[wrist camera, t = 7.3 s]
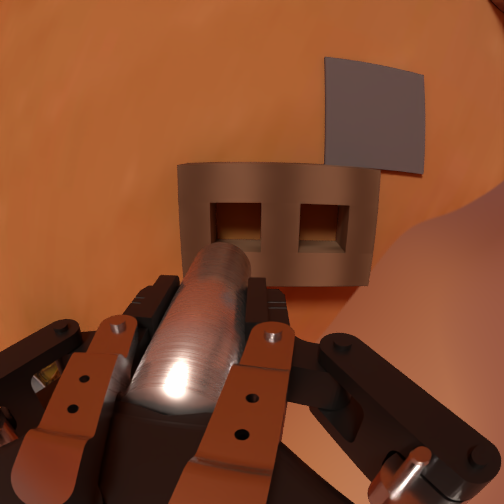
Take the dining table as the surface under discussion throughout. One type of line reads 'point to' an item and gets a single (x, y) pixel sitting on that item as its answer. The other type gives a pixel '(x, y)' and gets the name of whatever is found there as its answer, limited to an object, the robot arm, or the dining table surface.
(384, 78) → the mat
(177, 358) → the pin
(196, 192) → the socket block
